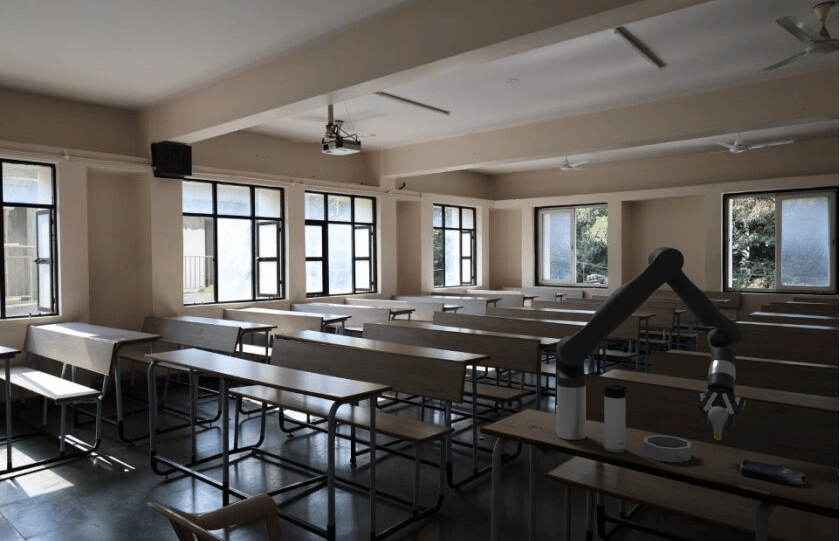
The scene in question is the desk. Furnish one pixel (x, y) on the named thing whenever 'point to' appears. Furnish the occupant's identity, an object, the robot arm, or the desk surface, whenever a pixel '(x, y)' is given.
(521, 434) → the desk surface
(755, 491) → the desk surface
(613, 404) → the travel mug
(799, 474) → the electronic device
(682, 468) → the desk surface
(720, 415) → the light bulb
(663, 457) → the bowl
